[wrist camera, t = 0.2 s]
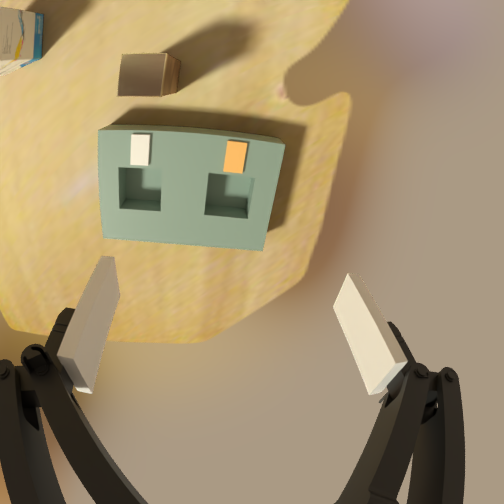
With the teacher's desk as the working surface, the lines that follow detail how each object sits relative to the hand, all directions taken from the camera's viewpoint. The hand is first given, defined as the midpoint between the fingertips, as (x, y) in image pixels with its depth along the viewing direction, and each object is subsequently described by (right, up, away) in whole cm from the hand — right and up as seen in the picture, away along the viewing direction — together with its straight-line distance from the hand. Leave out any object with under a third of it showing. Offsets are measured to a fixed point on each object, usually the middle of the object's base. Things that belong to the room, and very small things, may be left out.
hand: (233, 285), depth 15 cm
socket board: (-8, +12, +24) cm, 28 cm away
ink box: (-34, +34, +7) cm, 48 cm away
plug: (-11, +25, +15) cm, 31 cm away
